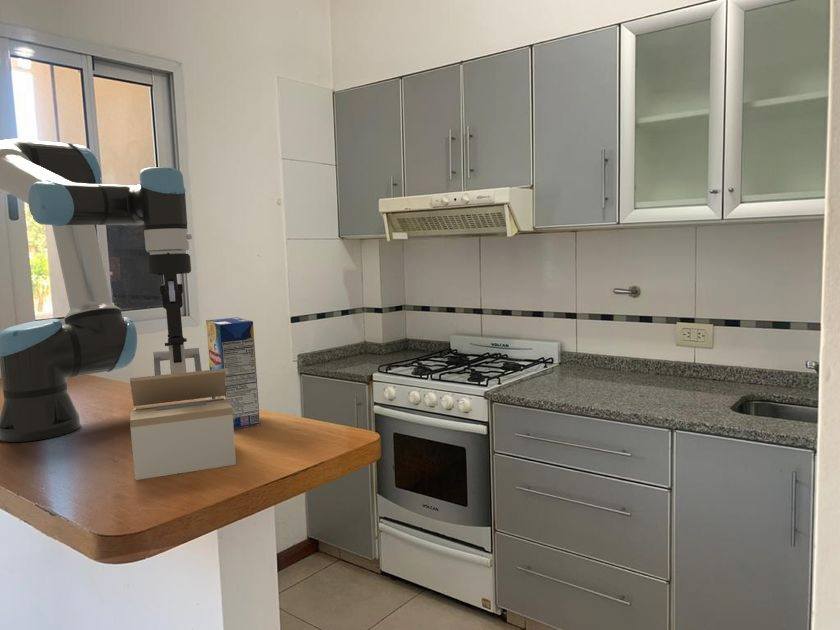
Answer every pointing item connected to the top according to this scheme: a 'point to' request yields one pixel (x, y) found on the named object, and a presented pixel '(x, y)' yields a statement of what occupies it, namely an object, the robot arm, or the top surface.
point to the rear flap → (177, 382)
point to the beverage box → (235, 366)
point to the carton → (182, 437)
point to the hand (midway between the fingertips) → (179, 378)
